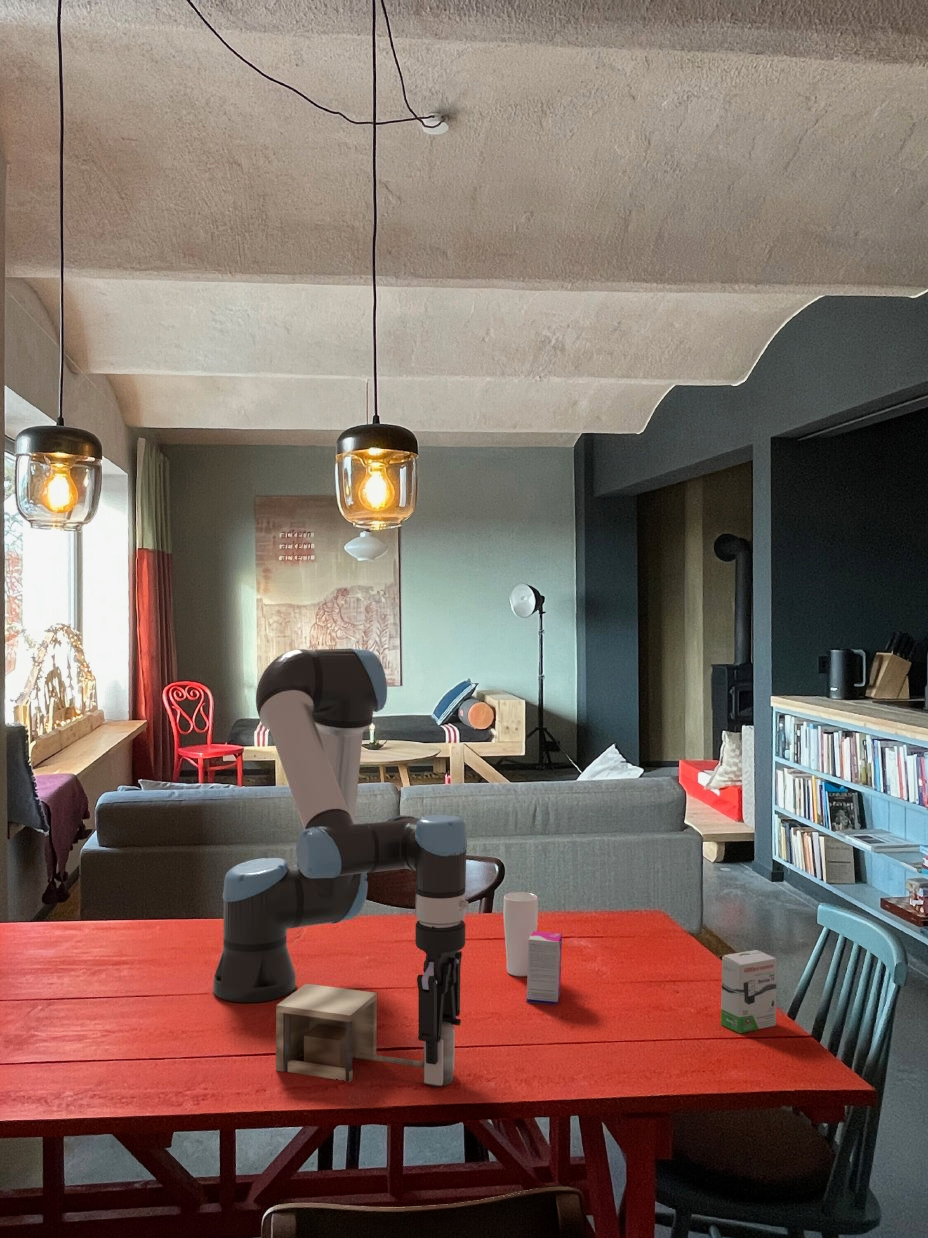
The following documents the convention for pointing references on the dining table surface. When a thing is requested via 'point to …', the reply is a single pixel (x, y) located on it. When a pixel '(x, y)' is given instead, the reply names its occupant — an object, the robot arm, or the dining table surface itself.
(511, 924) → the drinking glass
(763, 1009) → the ink box
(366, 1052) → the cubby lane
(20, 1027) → the dining table surface
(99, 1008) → the dining table surface
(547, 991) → the supplement box
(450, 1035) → the tethered cylinder
